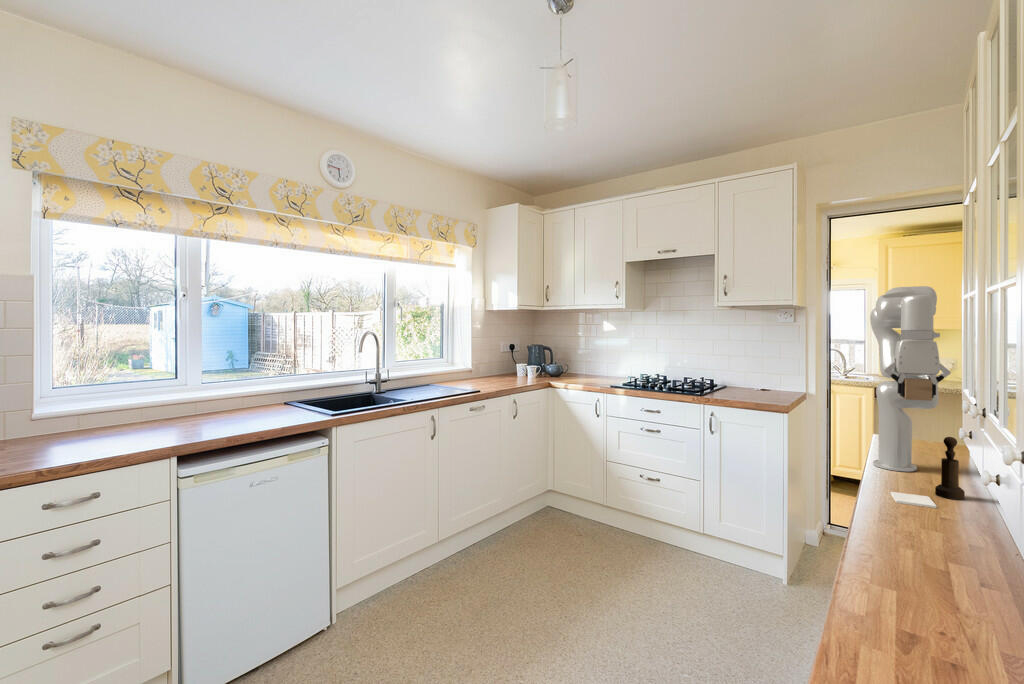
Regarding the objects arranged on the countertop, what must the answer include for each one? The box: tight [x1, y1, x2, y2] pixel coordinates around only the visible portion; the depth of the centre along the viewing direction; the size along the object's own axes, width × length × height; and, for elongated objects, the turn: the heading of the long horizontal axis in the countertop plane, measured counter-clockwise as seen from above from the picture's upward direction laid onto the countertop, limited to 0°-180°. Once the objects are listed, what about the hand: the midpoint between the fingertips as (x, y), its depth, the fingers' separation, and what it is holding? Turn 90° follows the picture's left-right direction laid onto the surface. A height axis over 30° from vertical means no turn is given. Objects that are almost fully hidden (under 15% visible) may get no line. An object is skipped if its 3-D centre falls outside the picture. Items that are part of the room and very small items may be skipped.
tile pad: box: [890, 491, 938, 509], centre depth 143 cm, size 9×9×1 cm
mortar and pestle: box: [934, 436, 966, 501], centre depth 146 cm, size 7×6×18 cm
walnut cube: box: [902, 378, 932, 401], centre depth 145 cm, size 6×6×6 cm
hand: (916, 396), depth 145 cm, fingers closed on walnut cube, 6 cm apart
